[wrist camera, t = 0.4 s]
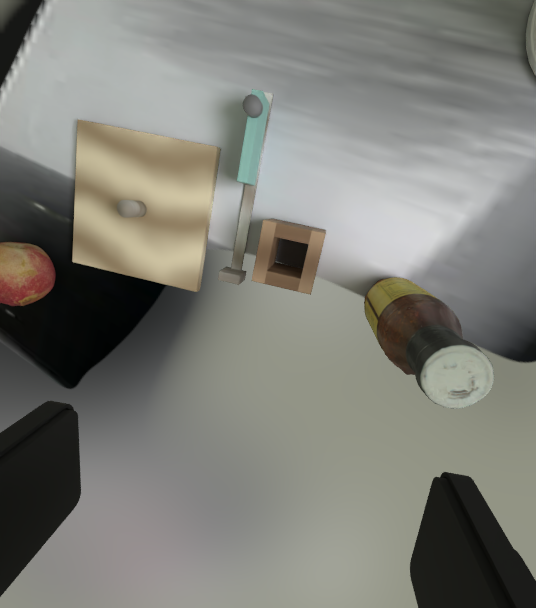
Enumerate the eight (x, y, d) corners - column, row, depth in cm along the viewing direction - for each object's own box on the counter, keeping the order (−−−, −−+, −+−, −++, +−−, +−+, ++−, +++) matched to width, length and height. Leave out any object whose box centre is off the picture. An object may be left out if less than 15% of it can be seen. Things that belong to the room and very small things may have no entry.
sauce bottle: (406, 335, 40) (480, 451, 21) (353, 317, 40) (379, 413, 21) (431, 282, 38) (539, 356, 19) (376, 263, 38) (427, 317, 19)
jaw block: (272, 218, 39) (263, 220, 33) (325, 229, 38) (325, 233, 32) (262, 270, 40) (251, 280, 35) (312, 282, 40) (310, 294, 34)
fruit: (79, 260, 44) (28, 271, 36) (56, 307, 46) (2, 326, 38) (28, 224, 44) (-35, 227, 36) (7, 273, 46) (-56, 285, 38)
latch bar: (257, 101, 35) (246, 84, 30) (272, 104, 35) (263, 87, 30) (243, 183, 38) (230, 179, 33) (257, 186, 37) (247, 182, 33)
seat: (87, 61, 37) (59, 43, 33) (278, 95, 35) (272, 81, 31) (79, 260, 44) (54, 265, 40) (241, 299, 42) (232, 309, 38)
